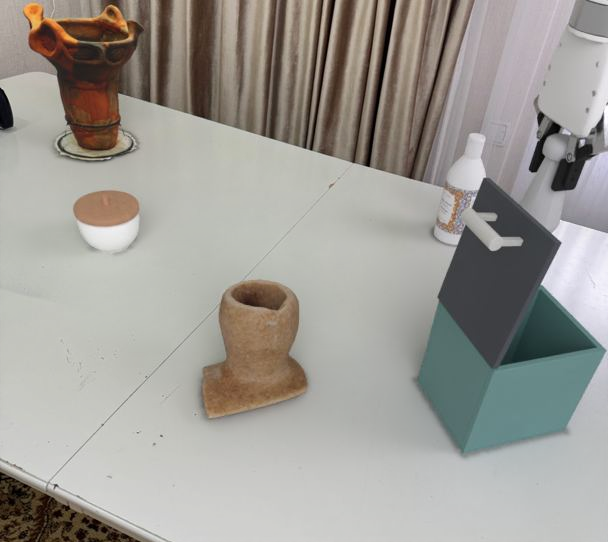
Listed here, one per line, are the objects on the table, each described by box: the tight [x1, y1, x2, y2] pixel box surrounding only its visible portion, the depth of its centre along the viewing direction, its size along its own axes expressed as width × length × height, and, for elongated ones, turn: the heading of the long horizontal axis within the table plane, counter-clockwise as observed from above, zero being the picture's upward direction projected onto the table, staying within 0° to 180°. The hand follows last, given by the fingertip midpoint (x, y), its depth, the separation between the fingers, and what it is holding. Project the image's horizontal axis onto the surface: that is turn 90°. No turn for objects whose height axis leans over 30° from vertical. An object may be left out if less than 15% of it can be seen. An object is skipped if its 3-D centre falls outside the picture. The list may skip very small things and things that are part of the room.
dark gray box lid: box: [436, 177, 563, 369], centre depth 68 cm, size 16×14×5 cm
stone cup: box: [201, 279, 309, 419], centre depth 81 cm, size 15×12×15 cm
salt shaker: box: [518, 133, 583, 234], centre depth 78 cm, size 6×6×13 cm
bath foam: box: [433, 132, 487, 246], centre depth 113 cm, size 7×7×20 cm
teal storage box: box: [417, 284, 607, 454], centre depth 82 cm, size 16×14×15 cm
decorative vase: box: [22, 2, 145, 161], centre depth 130 cm, size 21×23×28 cm
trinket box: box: [72, 189, 141, 254], centre depth 107 cm, size 11×11×9 cm
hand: (551, 178), depth 77 cm, fingers closed on salt shaker, 4 cm apart
